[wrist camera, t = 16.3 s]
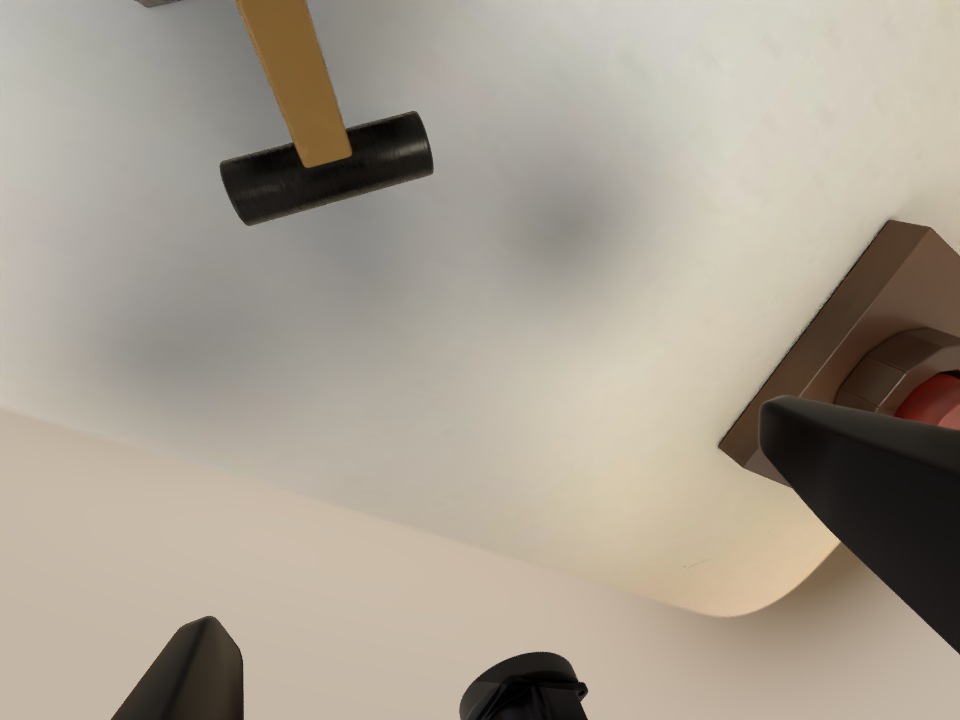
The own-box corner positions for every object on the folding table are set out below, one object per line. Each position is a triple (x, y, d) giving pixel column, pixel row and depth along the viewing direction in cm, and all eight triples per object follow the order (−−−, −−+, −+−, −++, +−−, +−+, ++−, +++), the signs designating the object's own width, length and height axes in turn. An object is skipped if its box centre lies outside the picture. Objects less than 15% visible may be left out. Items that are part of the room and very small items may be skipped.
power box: (830, 495, 29) (890, 540, 25) (717, 446, 24) (773, 493, 21) (987, 311, 25) (1077, 338, 22) (889, 218, 21) (983, 236, 18)
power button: (911, 453, 23) (951, 476, 22) (871, 430, 22) (912, 454, 20) (967, 388, 22) (1014, 408, 21) (930, 360, 21) (977, 379, 19)
